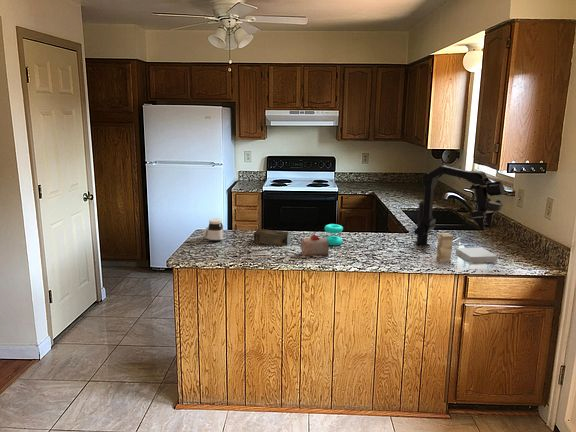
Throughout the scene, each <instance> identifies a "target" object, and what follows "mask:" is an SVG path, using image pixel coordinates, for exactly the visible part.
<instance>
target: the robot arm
mask: <svg viewBox="0 0 576 432" xmlns="http://www.w3.org/2000/svg"><path fill="white" fill-rule="evenodd" d="M444 175H447V176H451V177H455V178H460V179H464V180H465V181H468V183H471V186H470V187H469V190H474V191H473V192H474V196H475V200H474V201H473V202H474V203H476V208H475V210H472V211H471V212H470V213H469V214H470V218H472V219H473V221H475V223H476V224H477V226H478V227H479V229H480V230H481V231H484V230H485V222H486V223H487V226H488V228H492V224H493V219H494V218H493V217H494V215H495V214H496V213H497V212H500V211H502V207H503V202H502V200H500V199H496V201H495V200H494V201H492V200H491V198H490V197H496V196H503V195H504V194H505V193H506V192H505V186H504V183H502V180H497V181H492V180H491V179H490V178H489V177H488V176H487V174H486V173H485V172H484V171H481V170H478V171H477V170H466V169H465V170H464V169H459V168H456V167H452V166H448V165H440V166H438V168H435V169H434V170H432V171H431V172H427V173H424V174H423V175H422V178H421V179H422V186H423V188H424V194H423V195H424V196H423V201H424V208H423V216H422V219H421V221H420V224H419V227H418V228H417V227H416V228H415V229H414V234H415V235H416V240H415V241H413V243H414V245H416V246H418V247H429V246H430V244H429V243H428V237H429V234H431V232H432V231H433V230H434V229H435V227H436V222H437V221H436V220H437V219H436V218H434V217H433V209H434V208H433V207H434V198H435V197H434V194H435V189H436V186H437V184H438V181H439V178H441V177H443V176H444ZM489 196H490V197H489Z"/></svg>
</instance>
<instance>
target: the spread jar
mask: <svg viewBox="0 0 576 432" xmlns="http://www.w3.org/2000/svg"><path fill="white" fill-rule="evenodd" d="M222 221H223V219H221V218H210V219H209V221H208V226H207V227H206V228H205V229H204V230H203V233H202V237H203V238H205V239H208V241H209V242H211V243H219V242H223V240H224V225H223V222H222Z"/></svg>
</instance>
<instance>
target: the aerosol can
mask: <svg viewBox="0 0 576 432" xmlns="http://www.w3.org/2000/svg"><path fill="white" fill-rule="evenodd" d="M423 208H424V200H422V201H420V202H419V203H418V213H417V215H418V216H417V226H416V229H417V228H418V227H419V224H420V221H421V219H422V216H423Z"/></svg>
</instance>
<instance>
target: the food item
mask: <svg viewBox="0 0 576 432" xmlns="http://www.w3.org/2000/svg"><path fill="white" fill-rule="evenodd" d="M328 243H329V241H328V239H327V238H326V237H319V236H318V235H315V234H313V235H312V236H310V237H309V238H307V237H306V238H303V239H302V240H301V241H300V250H301V253H302V255H303V256H304V257H312V256H315V257H316V255H317V257H318V256H319V255H323V256H329V255H330V253H329V252H330V251H329V246H330V245H329V244H328Z"/></svg>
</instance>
